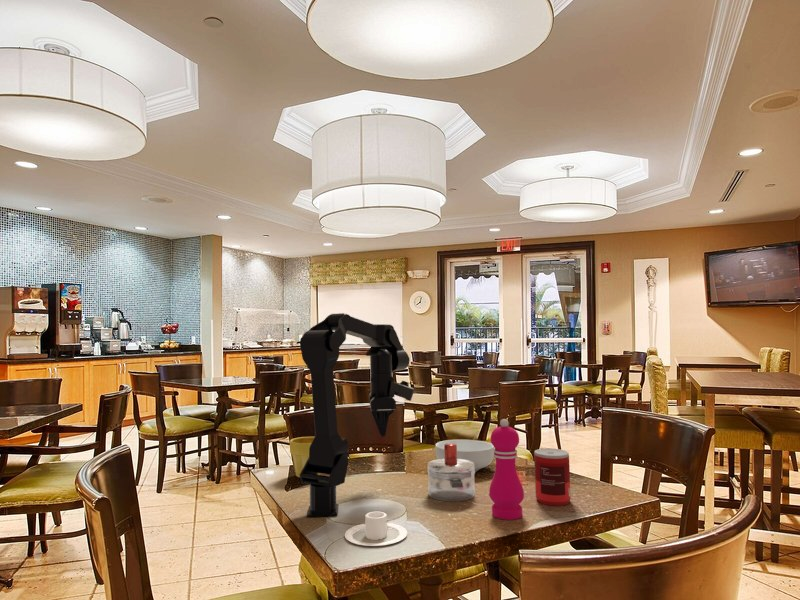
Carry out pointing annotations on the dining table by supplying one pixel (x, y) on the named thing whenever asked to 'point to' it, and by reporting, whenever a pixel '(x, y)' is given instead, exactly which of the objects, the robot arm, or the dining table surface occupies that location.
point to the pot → (451, 486)
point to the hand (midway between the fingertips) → (382, 433)
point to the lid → (450, 462)
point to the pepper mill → (505, 474)
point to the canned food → (552, 476)
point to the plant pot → (300, 452)
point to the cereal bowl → (469, 451)
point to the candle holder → (376, 529)
